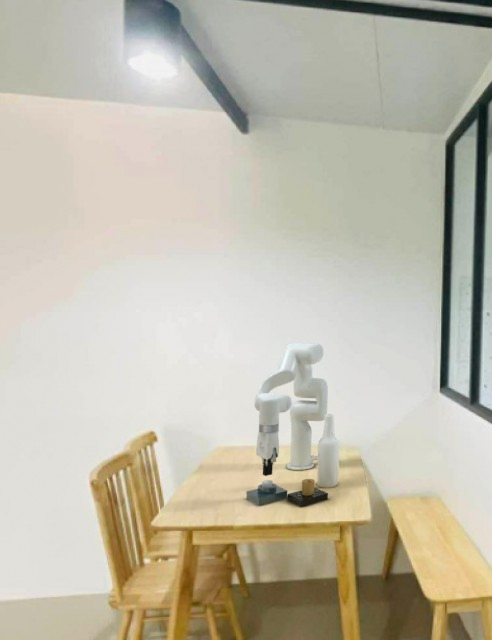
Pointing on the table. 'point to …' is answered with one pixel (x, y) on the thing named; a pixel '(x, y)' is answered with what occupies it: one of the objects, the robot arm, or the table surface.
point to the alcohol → (328, 455)
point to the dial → (308, 487)
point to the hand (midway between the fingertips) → (267, 474)
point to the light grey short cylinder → (267, 484)
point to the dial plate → (307, 497)
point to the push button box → (266, 494)
